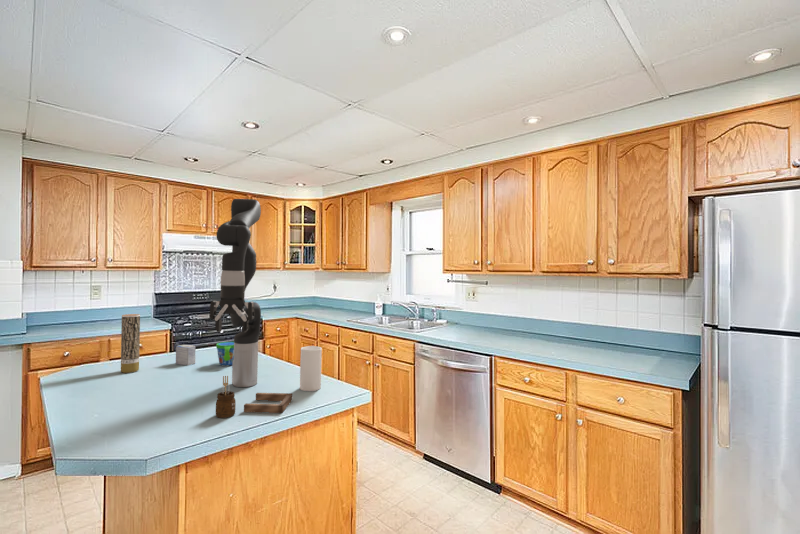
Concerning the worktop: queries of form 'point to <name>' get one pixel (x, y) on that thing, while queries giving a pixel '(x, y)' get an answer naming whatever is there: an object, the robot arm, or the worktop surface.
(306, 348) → the cup
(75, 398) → the worktop surface
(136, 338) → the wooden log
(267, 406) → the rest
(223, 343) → the snack cup
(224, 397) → the utensil holder
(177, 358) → the medicine box
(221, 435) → the worktop surface
